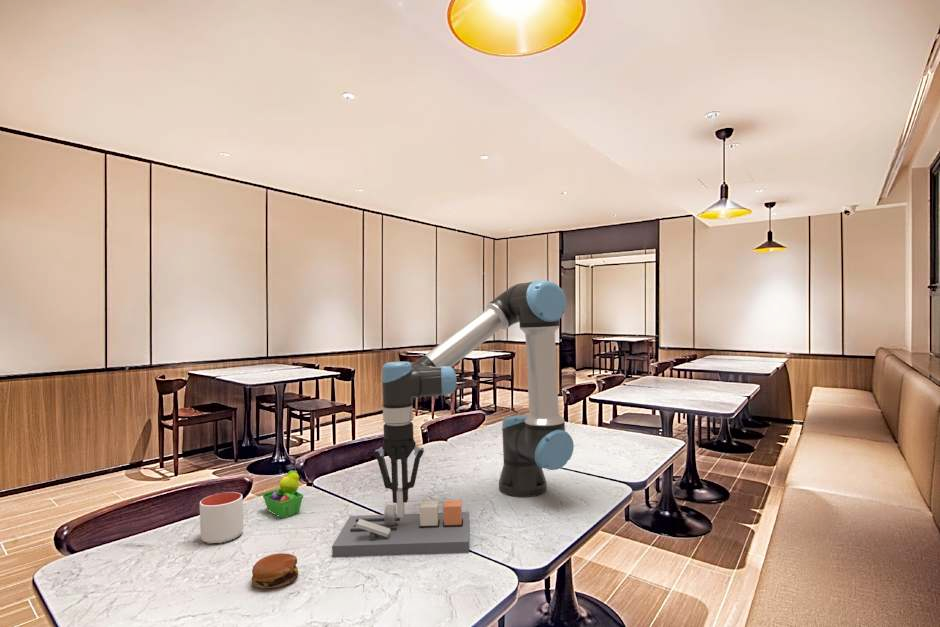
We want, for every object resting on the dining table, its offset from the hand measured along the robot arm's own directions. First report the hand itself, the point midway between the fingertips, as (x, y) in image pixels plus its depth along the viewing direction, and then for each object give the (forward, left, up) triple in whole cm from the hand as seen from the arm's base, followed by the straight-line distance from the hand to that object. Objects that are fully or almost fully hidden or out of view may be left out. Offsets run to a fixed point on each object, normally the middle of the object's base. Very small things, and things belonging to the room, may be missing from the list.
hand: (400, 514), depth 130 cm
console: (-1, +2, -5) cm, 6 cm away
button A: (-13, 0, -2) cm, 13 cm away
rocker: (+6, +7, 0) cm, 9 cm away
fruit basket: (+36, -18, -5) cm, 41 cm away
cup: (+47, -2, -5) cm, 47 cm away
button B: (-7, 0, -2) cm, 8 cm away
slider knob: (+3, 0, -2) cm, 3 cm away
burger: (+24, +20, -5) cm, 32 cm away
